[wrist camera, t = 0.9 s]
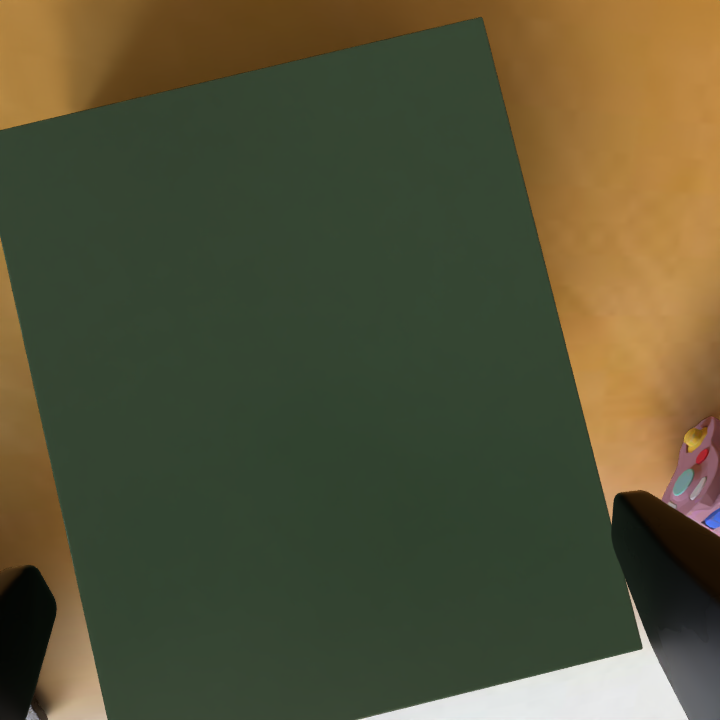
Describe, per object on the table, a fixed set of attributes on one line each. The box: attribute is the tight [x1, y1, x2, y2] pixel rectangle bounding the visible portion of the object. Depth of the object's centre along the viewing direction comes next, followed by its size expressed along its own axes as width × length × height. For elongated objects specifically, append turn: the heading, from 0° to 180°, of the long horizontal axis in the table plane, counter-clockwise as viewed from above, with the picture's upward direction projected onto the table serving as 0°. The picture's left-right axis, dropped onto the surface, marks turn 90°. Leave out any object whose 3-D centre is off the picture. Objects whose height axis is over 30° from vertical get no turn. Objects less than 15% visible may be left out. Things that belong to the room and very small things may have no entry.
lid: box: [0, 17, 642, 720], centre depth 13 cm, size 14×12×1 cm
